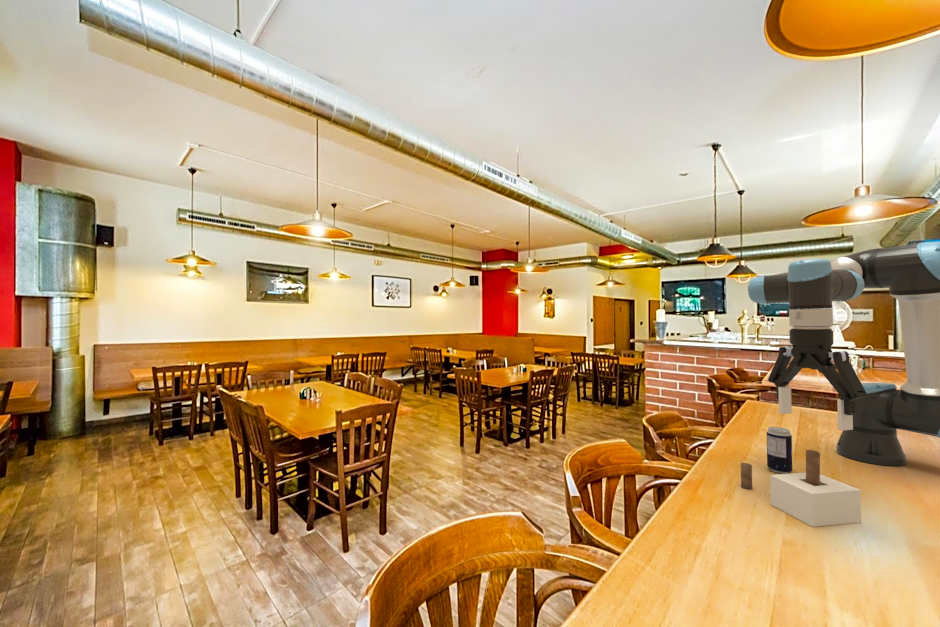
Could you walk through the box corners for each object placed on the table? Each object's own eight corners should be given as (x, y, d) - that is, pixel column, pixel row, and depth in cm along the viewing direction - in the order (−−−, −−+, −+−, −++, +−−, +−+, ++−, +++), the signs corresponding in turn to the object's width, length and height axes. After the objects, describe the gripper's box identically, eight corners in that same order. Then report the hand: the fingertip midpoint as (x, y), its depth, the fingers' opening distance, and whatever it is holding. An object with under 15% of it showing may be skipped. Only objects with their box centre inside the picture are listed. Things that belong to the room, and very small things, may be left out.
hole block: (814, 500, 94) (814, 471, 94) (861, 522, 84) (860, 490, 85) (770, 504, 93) (770, 475, 93) (812, 526, 83) (812, 493, 83)
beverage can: (797, 475, 109) (796, 432, 109) (773, 474, 110) (773, 431, 110) (785, 467, 115) (784, 427, 115) (763, 466, 116) (762, 426, 116)
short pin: (746, 485, 103) (746, 462, 103) (754, 489, 101) (754, 466, 101) (738, 485, 103) (738, 463, 103) (746, 489, 101) (745, 466, 101)
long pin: (811, 510, 90) (812, 449, 90) (822, 515, 88) (823, 453, 87) (802, 510, 90) (803, 450, 89) (813, 516, 87) (813, 453, 87)
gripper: (749, 326, 101) (752, 408, 101) (857, 330, 76) (860, 439, 76) (775, 325, 102) (777, 407, 102) (890, 329, 77) (893, 436, 77)
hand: (813, 421), depth 89 cm, fingers open, 13 cm apart
